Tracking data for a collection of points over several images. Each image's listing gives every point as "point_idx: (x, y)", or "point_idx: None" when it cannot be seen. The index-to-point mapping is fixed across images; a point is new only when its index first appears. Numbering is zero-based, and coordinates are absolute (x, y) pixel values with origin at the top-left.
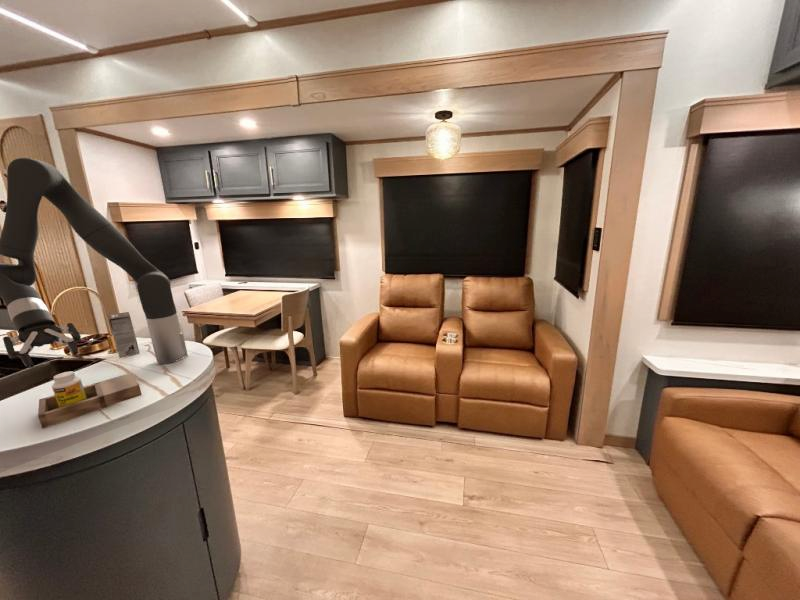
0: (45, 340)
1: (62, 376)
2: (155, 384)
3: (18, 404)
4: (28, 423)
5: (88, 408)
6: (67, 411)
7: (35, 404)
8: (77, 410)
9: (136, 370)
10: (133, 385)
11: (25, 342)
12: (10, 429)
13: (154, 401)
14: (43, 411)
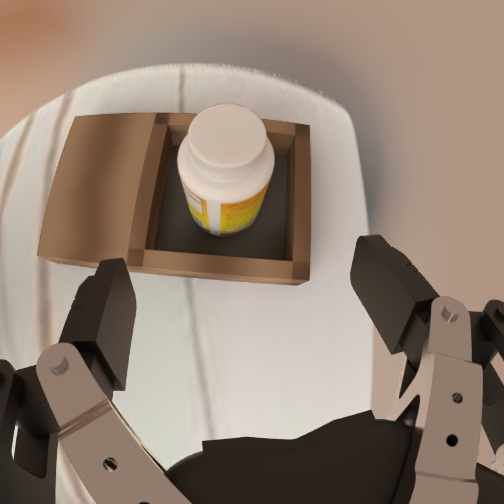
0: (287, 443)
1: (235, 109)
2: (40, 182)
3: None
4: (328, 216)
5: None
6: None
7: (311, 373)
8: None
9: None
10: (84, 121)
11: (478, 384)
12: (360, 219)
13: (96, 81)
14: (298, 146)
